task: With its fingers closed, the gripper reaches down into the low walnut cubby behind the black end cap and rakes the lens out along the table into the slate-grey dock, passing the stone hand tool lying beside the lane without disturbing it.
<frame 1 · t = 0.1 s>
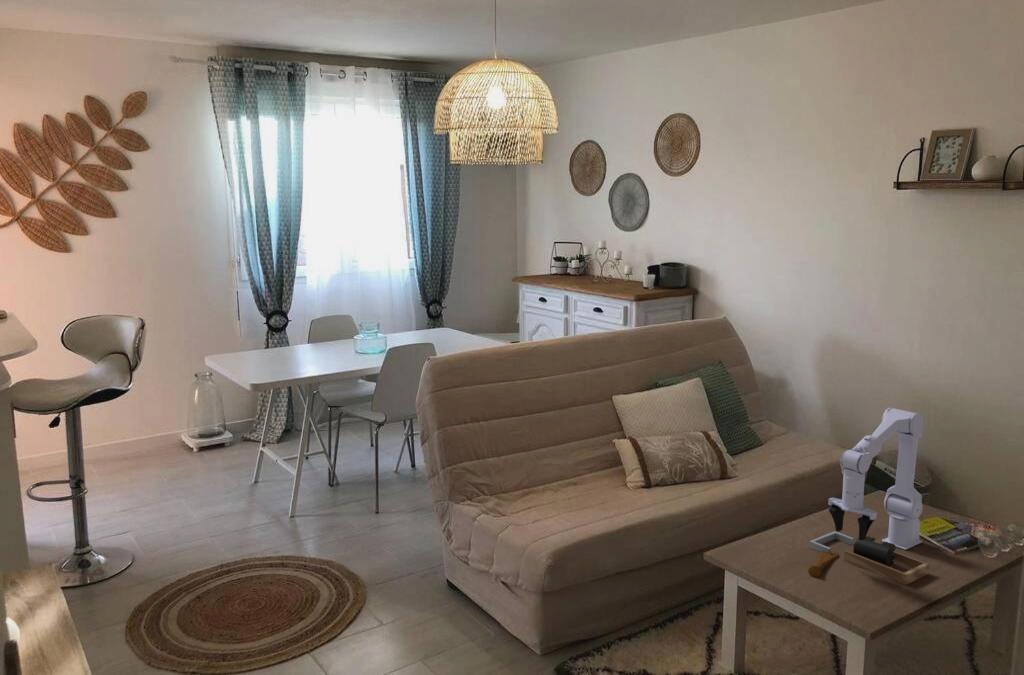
hand: (850, 534, 245), 10 cm above the table, tool pointing down, fingers open, 7 cm apart
cubby: (883, 566, 247), on the table
dock: (832, 546, 261), on the table
primitive tool: (821, 565, 249), on the table
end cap: (873, 563, 249), resting in cubby
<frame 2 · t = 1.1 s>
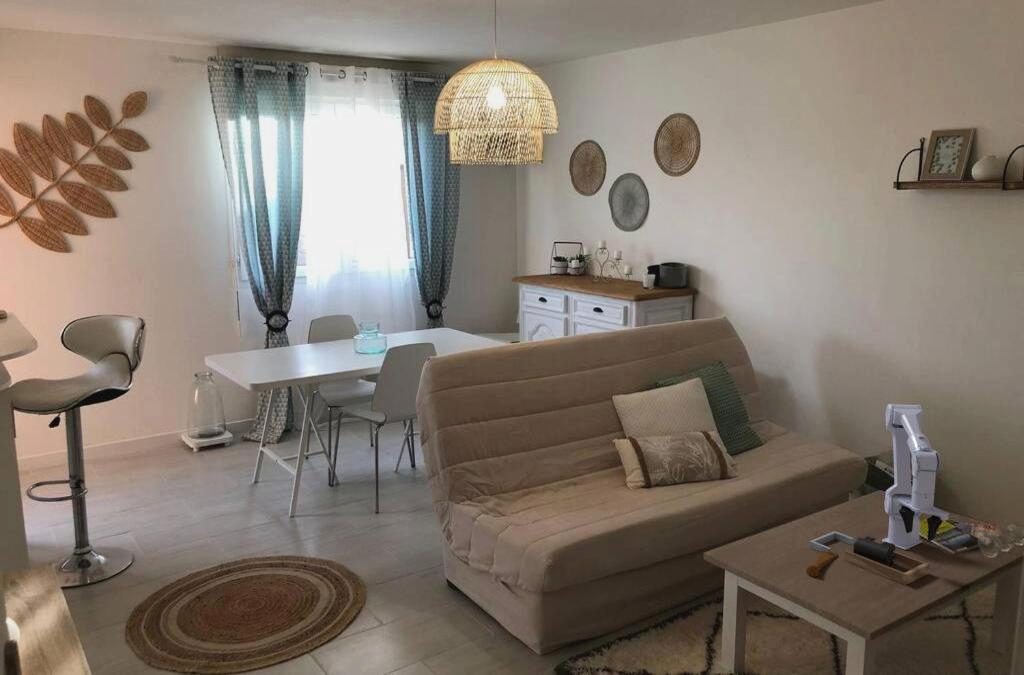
hand: (919, 535, 243), 10 cm above the table, tool pointing down, fingers open, 6 cm apart
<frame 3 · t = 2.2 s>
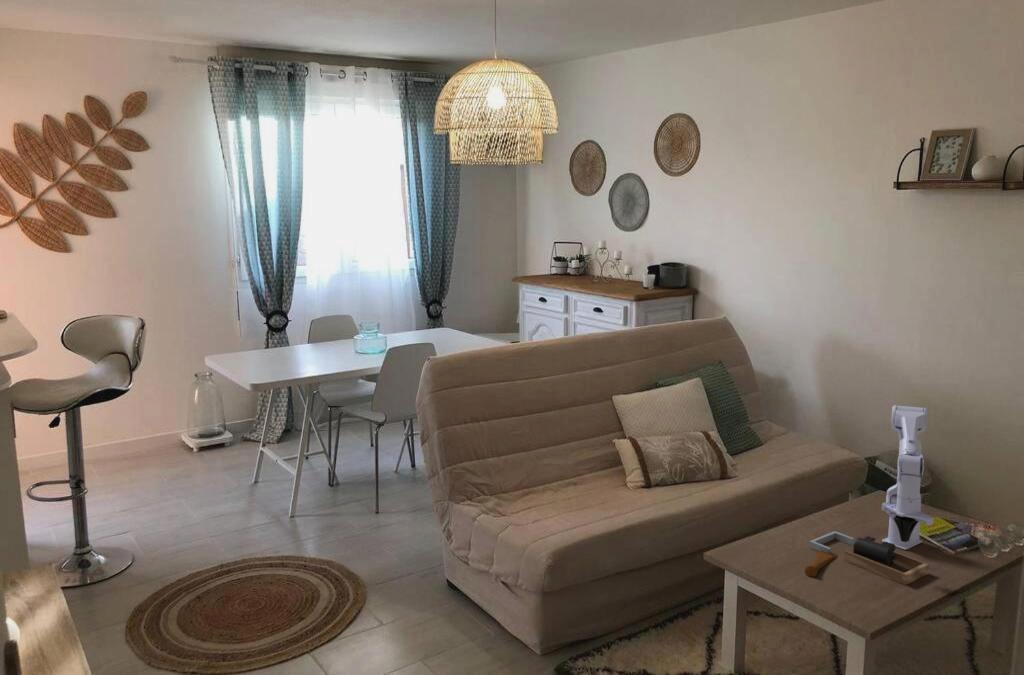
hand: (904, 540, 240), 10 cm above the table, tool pointing down, fingers closed
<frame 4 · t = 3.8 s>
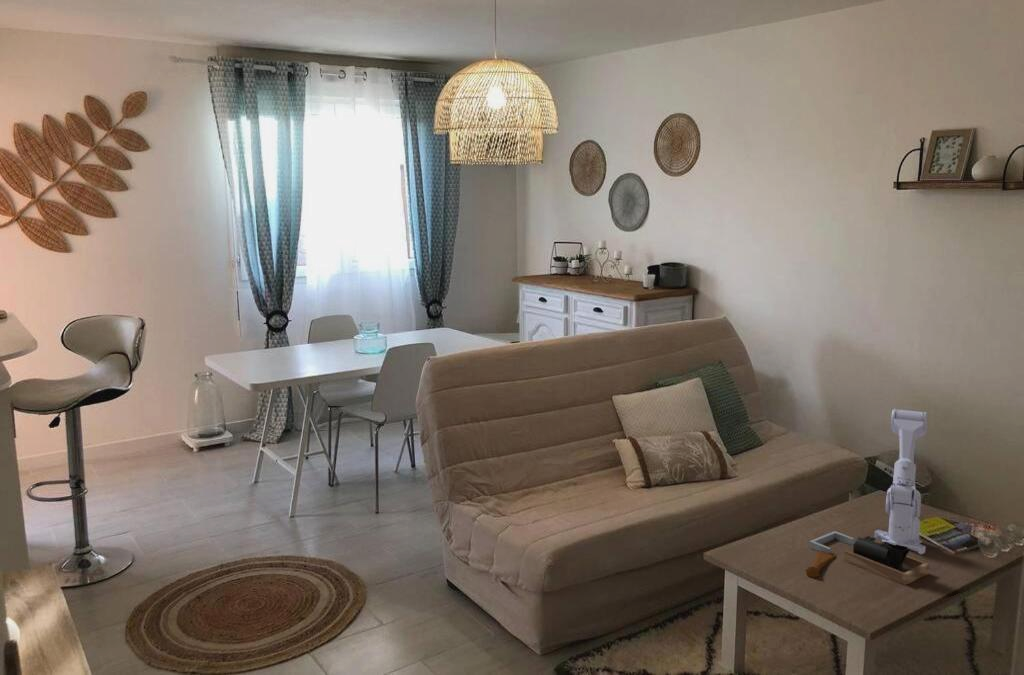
hand: (897, 568, 243), 1 cm above the table, tool pointing down, fingers closed
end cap: (873, 563, 249), resting in cubby, touching gripper
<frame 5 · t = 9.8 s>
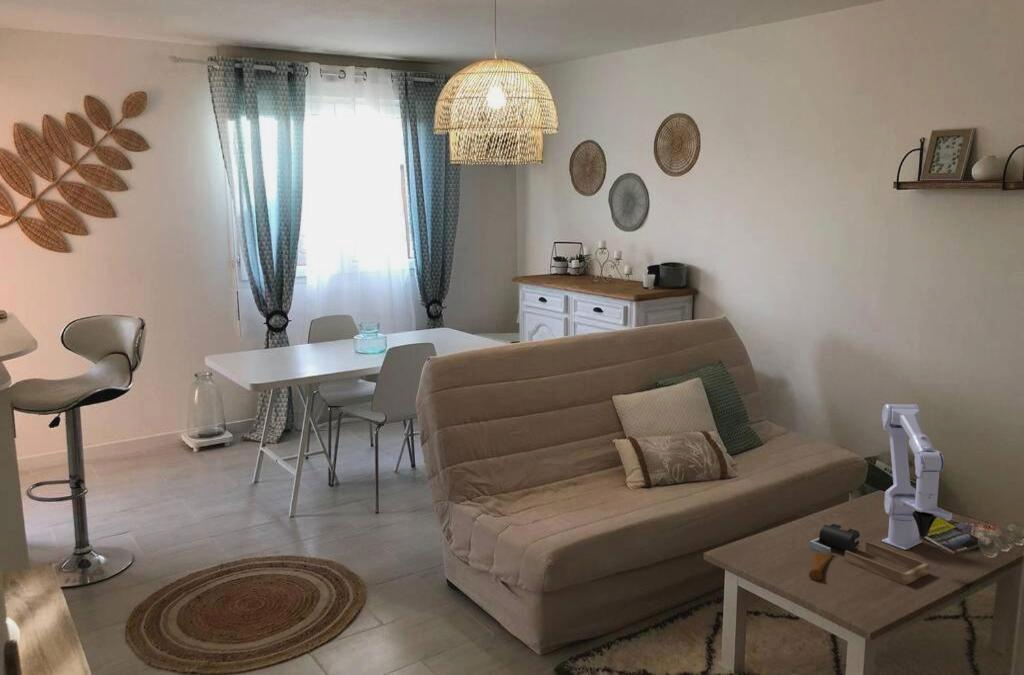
hand: (923, 535, 244), 10 cm above the table, tool pointing down, fingers closed
primitive tool: (818, 568, 248), on the table
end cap: (838, 549, 259), resting in dock
at the end: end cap inside the target area (0.9 cm from its centre), resting in dock; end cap moved 11.9 cm from its start; primitive tool moved 2.5 cm from its start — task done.
